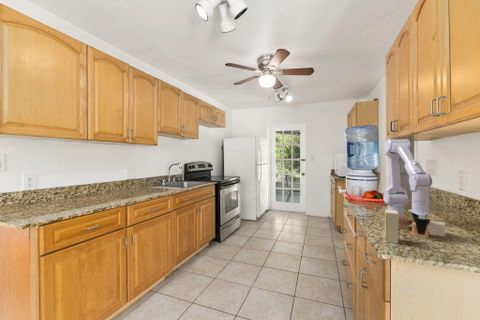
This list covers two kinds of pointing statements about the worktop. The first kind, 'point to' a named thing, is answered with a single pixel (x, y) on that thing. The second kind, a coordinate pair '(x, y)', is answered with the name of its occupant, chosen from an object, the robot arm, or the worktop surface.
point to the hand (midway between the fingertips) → (420, 231)
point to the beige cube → (437, 228)
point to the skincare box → (391, 226)
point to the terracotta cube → (415, 233)
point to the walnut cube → (403, 223)
